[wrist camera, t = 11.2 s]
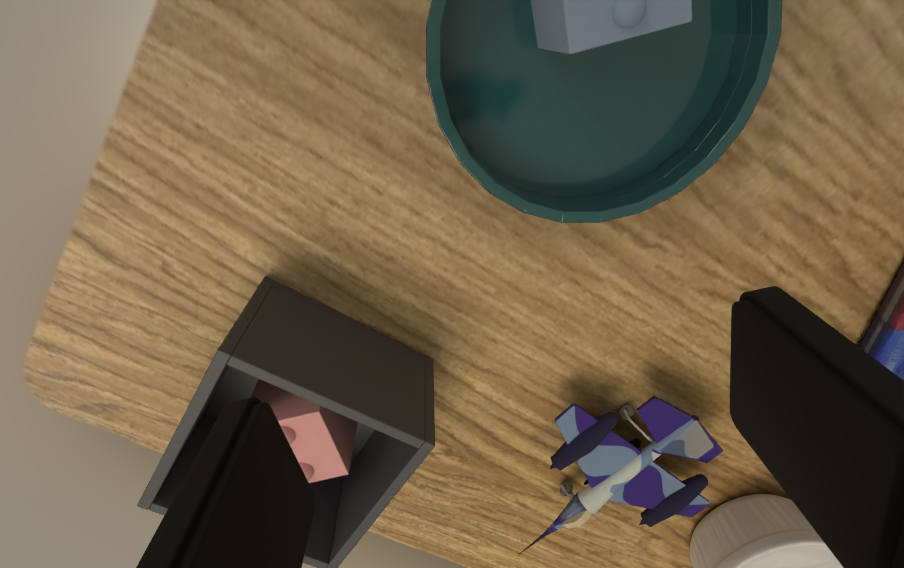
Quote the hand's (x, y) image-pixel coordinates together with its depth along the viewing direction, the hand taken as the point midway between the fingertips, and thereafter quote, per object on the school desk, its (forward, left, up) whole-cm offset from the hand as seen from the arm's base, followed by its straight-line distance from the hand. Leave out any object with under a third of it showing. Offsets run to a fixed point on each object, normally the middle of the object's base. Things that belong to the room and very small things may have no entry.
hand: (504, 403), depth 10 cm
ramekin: (+34, +15, -19) cm, 42 cm away
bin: (+11, -12, -19) cm, 25 cm away
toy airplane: (+22, +5, -19) cm, 29 cm away
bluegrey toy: (-7, +7, -18) cm, 21 cm away
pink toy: (+10, -12, -18) cm, 24 cm away
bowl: (-4, +7, -19) cm, 21 cm away
